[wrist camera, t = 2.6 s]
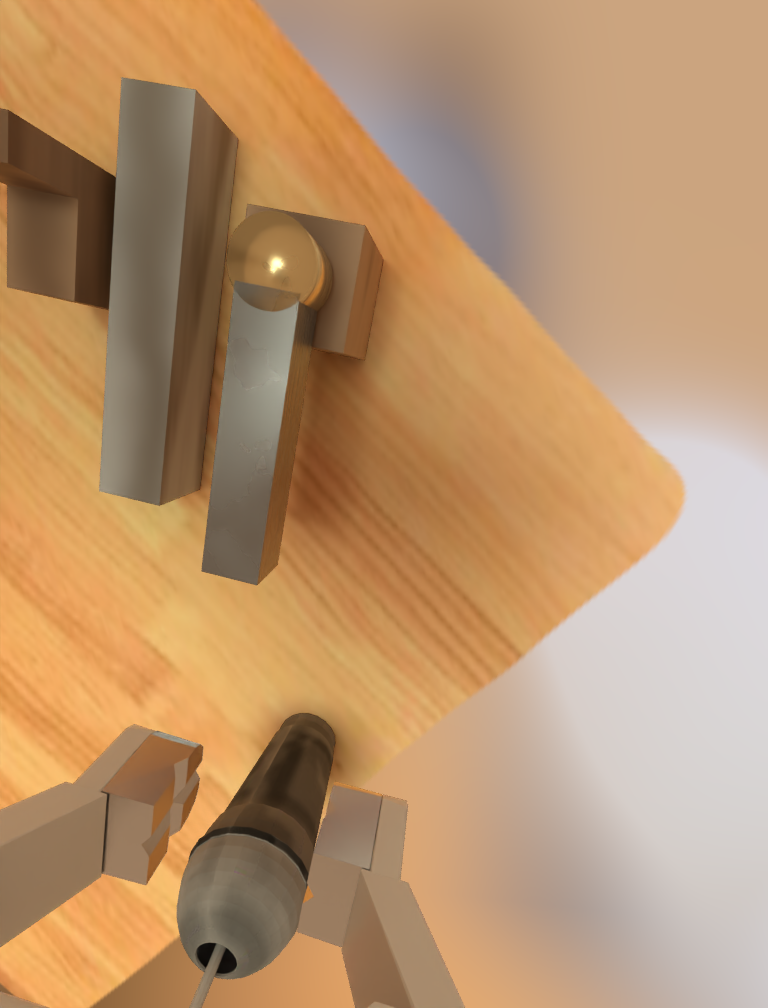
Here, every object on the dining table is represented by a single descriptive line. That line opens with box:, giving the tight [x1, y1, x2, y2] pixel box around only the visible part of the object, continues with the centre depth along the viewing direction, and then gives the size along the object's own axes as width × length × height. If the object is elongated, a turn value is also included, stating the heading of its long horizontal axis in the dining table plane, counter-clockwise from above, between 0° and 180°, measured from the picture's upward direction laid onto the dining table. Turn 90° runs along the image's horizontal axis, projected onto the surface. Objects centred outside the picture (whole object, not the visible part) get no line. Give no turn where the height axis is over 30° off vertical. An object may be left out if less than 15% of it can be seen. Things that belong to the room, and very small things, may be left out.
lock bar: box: [202, 211, 332, 585], centre depth 24 cm, size 17×4×3 cm, turn 168°
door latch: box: [0, 77, 383, 506], centre depth 27 cm, size 19×22×10 cm
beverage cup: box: [177, 713, 335, 1008], centre depth 29 cm, size 7×7×20 cm
